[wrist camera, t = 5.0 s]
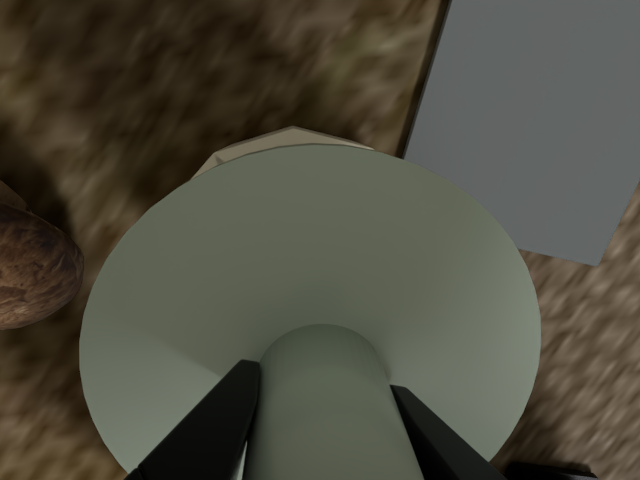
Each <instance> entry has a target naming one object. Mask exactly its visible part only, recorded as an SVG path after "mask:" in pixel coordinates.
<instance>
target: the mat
mask: <svg viewBox="0 0 640 480" xmlns="http://www.w3.org/2000/svg"><path fill="white" fill-rule="evenodd" d="M402 159H403V160H406V161H408V162H411V163H414V164H416V165H419V166H421V167H423V168H425V169H427V170H429V171H431V172H433V173H435V174H437V175H439V176H441V177H443V178H445V179H447V180H449V181H450V182H452V183H453V184H454V185H456V186H457V187H459V188H460V189H462V190H463V191H465V192H466V193H467V194H469V195H470V196H472V197H473V198H474V199H475V200H476V201H477V202H479V203H480V204H481V205H482V206H483V207H484V208H485V209H486V210H487V211H488V212H489V213H490V214H491V215H492V216H493V217H494V218H495V219H496V220H497V221H498V222H499V224H500V225H501V226H502V228H503V229H504V230H505V231H506V233H507V234H508V235H509V237H510V238H511V239H512V240H513V242H514V244H515V246H516V247H517V249H522V250H526V251H530V252H535V253H539V254H544V255H548V256H553V257H557V258H561V259H566V260H570V261H575V262H579V263H584V264H588V265H592V266H597V267H598V265H599V262H600V260H601V258H602V256H603V254H604V252H605V250H606V248H607V246H608V244H609V242H610V240H611V238H612V236H613V234H614V232H615V230H616V228H617V226H618V224H619V221H620V219H621V217H622V215H623V213H624V211H625V209H626V207H627V205H628V203H629V201H630V199H631V197H632V195H633V193H634V191H635V189H636V187H637V185H638V183H639V180H640V0H449V3H448V7H447V10H446V13H445V17H444V20H443V23H442V27H441V30H440V33H439V37H438V40H437V43H436V47H435V50H434V53H433V56H432V60H431V63H430V66H429V70H428V73H427V76H426V80H425V83H424V86H423V90H422V93H421V96H420V100H419V103H418V106H417V109H416V113H415V116H414V119H413V123H412V126H411V129H410V133H409V136H408V139H407V143H406V146H405V149H404V153H403V156H402Z"/></svg>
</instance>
